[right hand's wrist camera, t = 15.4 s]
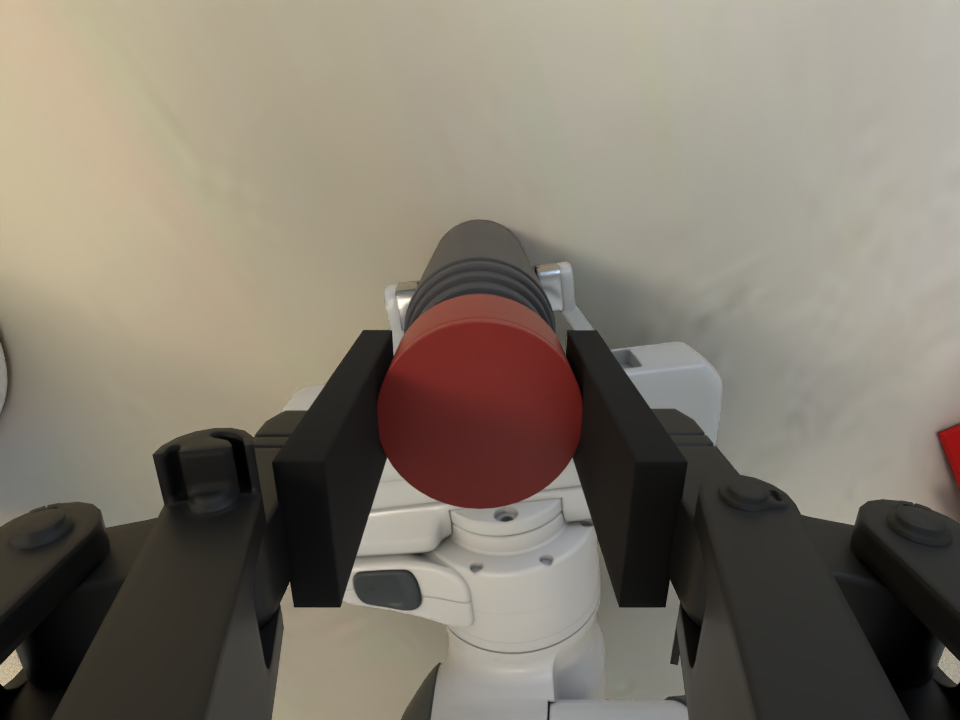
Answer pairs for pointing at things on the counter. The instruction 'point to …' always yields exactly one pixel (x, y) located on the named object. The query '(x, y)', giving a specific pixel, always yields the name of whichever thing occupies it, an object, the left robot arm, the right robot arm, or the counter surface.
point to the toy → (952, 449)
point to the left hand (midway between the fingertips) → (475, 275)
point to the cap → (479, 404)
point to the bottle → (479, 271)
